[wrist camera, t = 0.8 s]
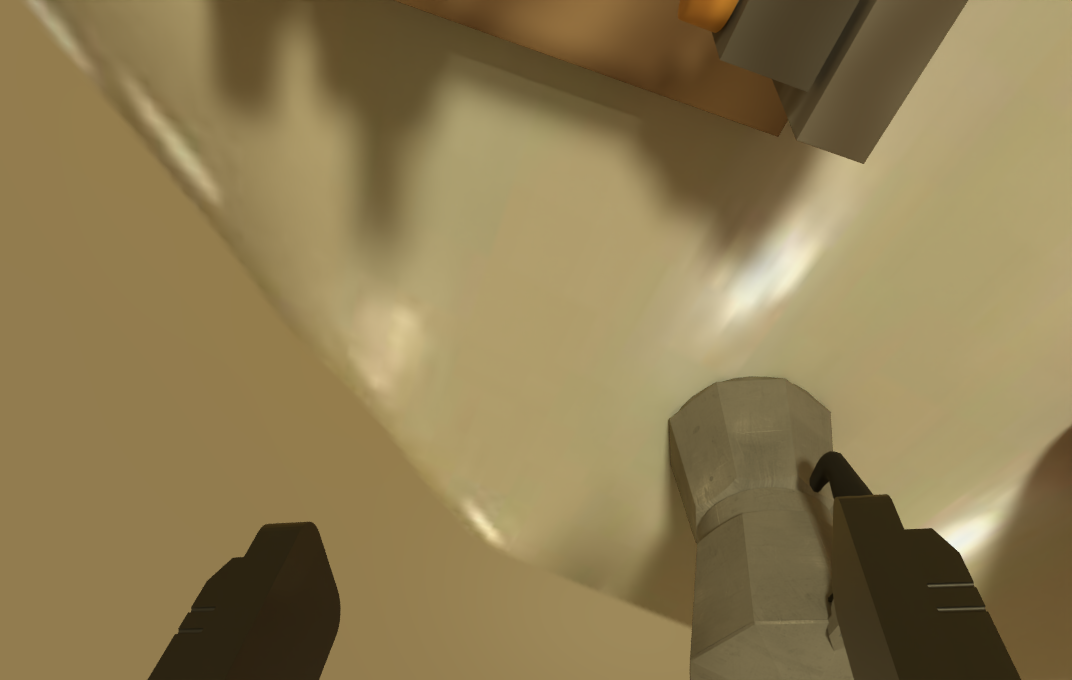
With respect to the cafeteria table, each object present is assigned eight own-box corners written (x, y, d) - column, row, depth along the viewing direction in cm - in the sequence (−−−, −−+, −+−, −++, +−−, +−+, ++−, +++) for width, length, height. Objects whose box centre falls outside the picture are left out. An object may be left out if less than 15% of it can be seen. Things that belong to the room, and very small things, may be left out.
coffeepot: (773, 526, 53) (836, 840, 39) (627, 491, 52) (638, 802, 38) (907, 338, 44) (1052, 661, 30) (733, 290, 43) (799, 604, 29)
